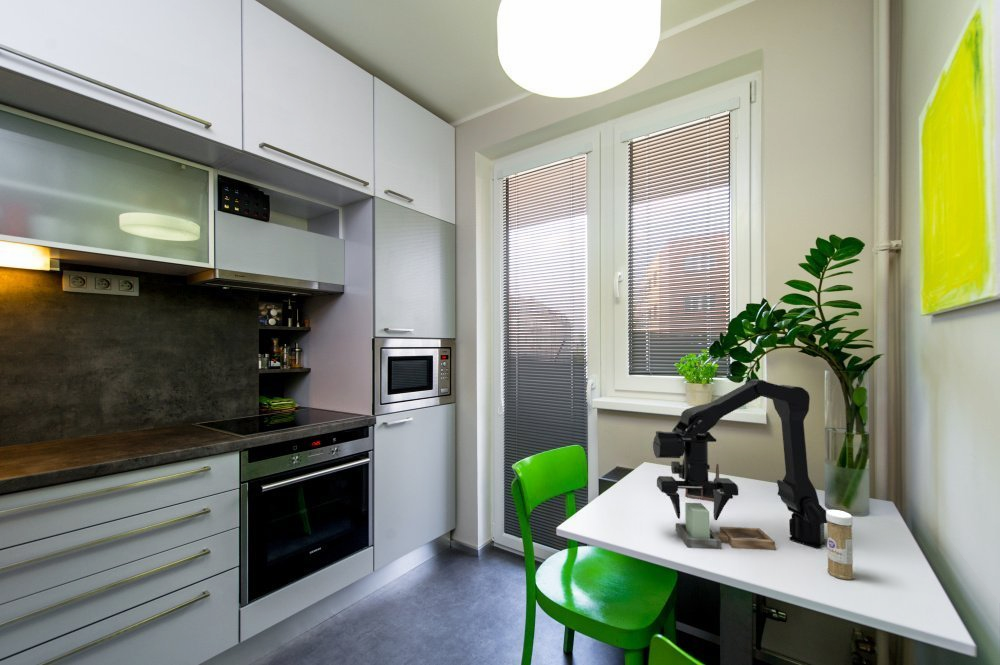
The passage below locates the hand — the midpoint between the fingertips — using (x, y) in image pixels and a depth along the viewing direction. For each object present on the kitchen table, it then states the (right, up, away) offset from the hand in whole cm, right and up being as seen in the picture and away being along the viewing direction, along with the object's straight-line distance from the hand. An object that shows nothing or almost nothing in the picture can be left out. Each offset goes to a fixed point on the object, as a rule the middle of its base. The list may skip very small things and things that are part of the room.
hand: (696, 518), depth 112 cm
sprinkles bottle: (+23, -5, -18) cm, 30 cm away
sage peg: (0, -5, 0) cm, 5 cm away
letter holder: (+20, -7, +38) cm, 43 cm away
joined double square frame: (+6, -5, -1) cm, 8 cm away
